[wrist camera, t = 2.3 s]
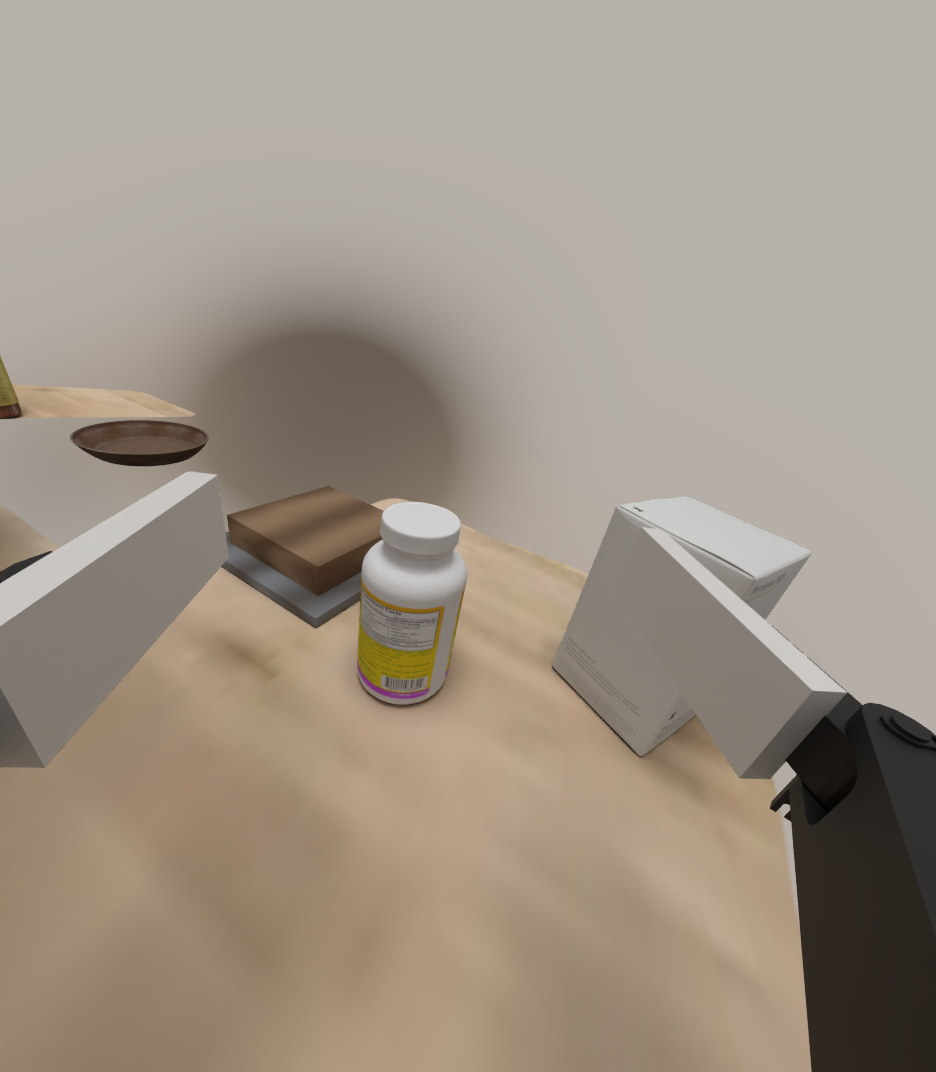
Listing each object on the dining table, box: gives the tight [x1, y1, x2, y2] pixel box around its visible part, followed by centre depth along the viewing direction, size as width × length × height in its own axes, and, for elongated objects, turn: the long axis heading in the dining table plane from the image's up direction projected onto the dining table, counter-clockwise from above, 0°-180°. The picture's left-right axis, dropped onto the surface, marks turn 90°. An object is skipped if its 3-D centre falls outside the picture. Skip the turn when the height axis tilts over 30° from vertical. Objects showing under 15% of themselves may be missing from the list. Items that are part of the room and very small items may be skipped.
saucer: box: [70, 420, 209, 466], centre depth 54 cm, size 15×15×3 cm
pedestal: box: [221, 486, 384, 628], centre depth 39 cm, size 16×16×4 cm
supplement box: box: [552, 496, 811, 756], centre depth 28 cm, size 9×9×15 cm
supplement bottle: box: [357, 502, 467, 705], centre depth 26 cm, size 7×7×13 cm
